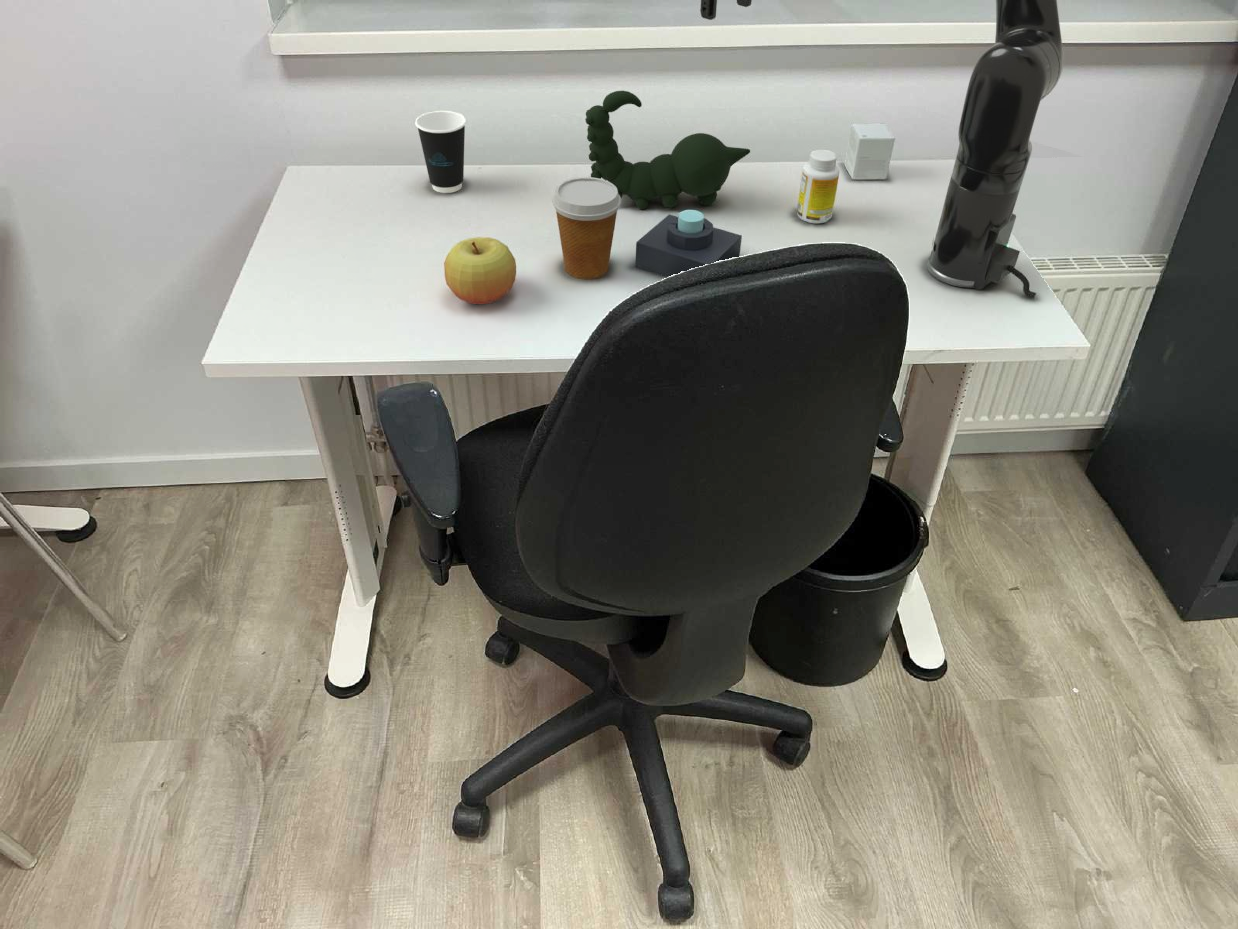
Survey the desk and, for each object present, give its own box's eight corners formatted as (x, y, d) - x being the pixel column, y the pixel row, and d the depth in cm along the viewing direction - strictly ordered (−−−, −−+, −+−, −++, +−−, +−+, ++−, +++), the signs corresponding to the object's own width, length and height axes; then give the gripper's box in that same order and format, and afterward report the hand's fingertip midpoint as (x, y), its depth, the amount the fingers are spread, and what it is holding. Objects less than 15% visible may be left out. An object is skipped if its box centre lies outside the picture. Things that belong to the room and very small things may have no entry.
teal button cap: (707, 226, 142) (708, 213, 141) (695, 237, 140) (696, 223, 138) (684, 220, 143) (685, 207, 142) (673, 230, 141) (674, 217, 140)
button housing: (739, 259, 146) (743, 222, 142) (709, 290, 140) (712, 252, 136) (667, 238, 151) (669, 201, 147) (635, 266, 144) (636, 229, 140)
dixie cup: (432, 201, 158) (425, 134, 151) (415, 180, 163) (407, 115, 156) (479, 191, 161) (474, 125, 154) (461, 171, 166) (455, 106, 159)
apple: (448, 276, 141) (442, 225, 136) (516, 274, 142) (514, 223, 137) (445, 315, 134) (439, 262, 128) (518, 312, 135) (515, 260, 129)
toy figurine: (593, 224, 157) (752, 214, 156) (582, 106, 144) (754, 94, 143) (594, 196, 164) (746, 186, 163) (584, 81, 151) (748, 70, 150)
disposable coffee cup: (561, 289, 139) (560, 210, 131) (547, 255, 146) (545, 179, 138) (627, 280, 141) (629, 203, 133) (609, 248, 148) (611, 172, 140)
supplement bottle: (838, 218, 157) (850, 156, 150) (814, 228, 154) (825, 166, 147) (812, 204, 160) (822, 143, 153) (788, 214, 157) (797, 153, 150)
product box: (887, 180, 167) (896, 138, 162) (851, 180, 167) (859, 138, 162) (878, 164, 172) (886, 123, 167) (843, 164, 171) (851, 122, 167)
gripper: (726, -101, 129) (716, 29, 140) (789, -118, 137) (775, 6, 148) (681, -111, 133) (675, 17, 144) (745, -126, 141) (735, -5, 152)
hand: (726, 11), depth 146 cm, fingers open, 8 cm apart
